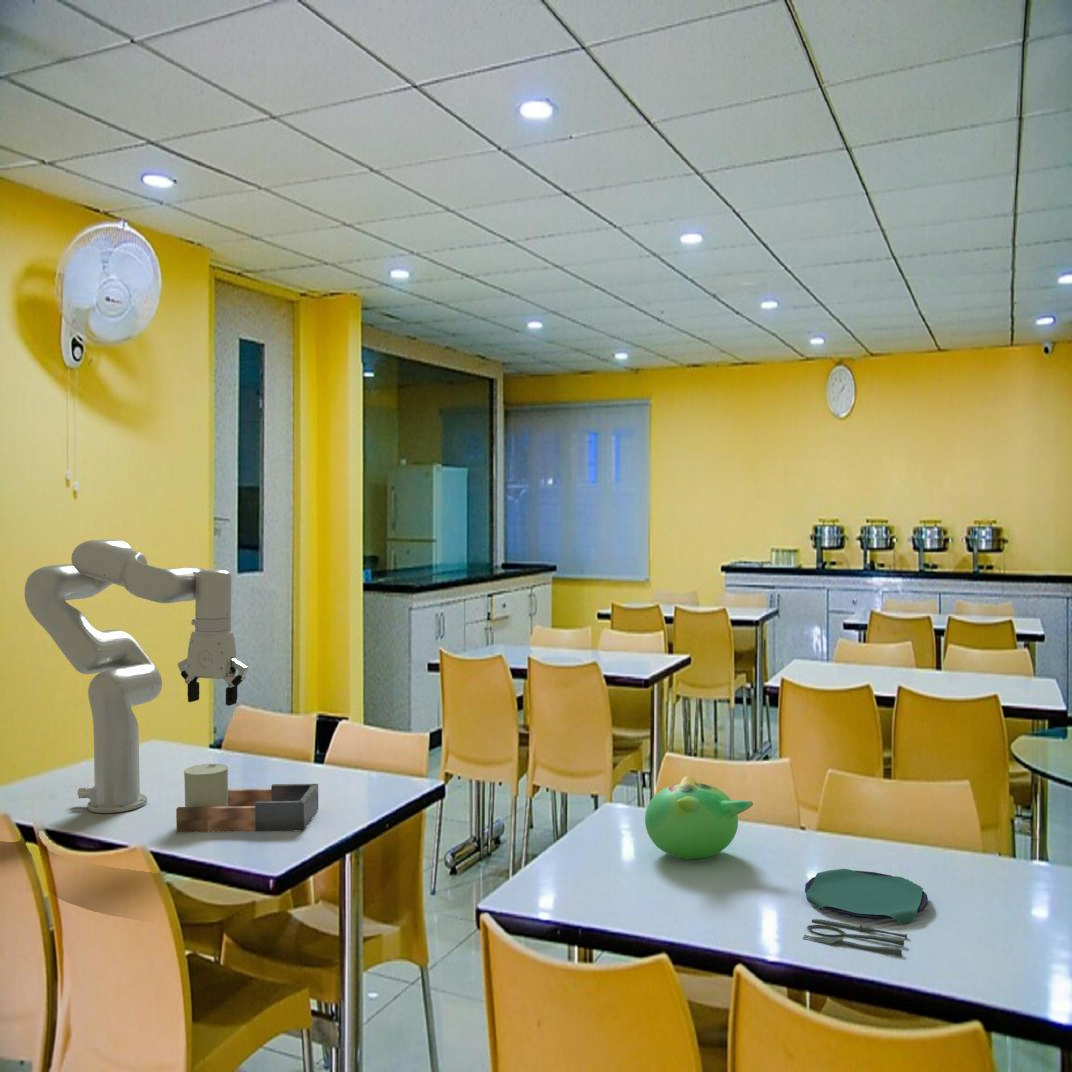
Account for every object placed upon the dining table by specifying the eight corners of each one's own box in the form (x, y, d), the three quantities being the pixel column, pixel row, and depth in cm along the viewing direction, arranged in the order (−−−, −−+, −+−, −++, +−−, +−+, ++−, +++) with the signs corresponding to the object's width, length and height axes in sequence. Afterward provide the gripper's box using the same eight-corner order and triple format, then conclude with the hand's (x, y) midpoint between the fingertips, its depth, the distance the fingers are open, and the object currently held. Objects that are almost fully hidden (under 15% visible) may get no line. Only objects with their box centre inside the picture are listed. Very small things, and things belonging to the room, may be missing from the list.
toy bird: (710, 837, 197) (710, 765, 196) (757, 864, 181) (757, 786, 181) (631, 848, 190) (630, 774, 190) (673, 878, 174) (673, 797, 174)
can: (236, 815, 213) (235, 761, 213) (218, 828, 204) (217, 772, 204) (196, 814, 214) (195, 761, 214) (176, 827, 205) (175, 771, 205)
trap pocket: (255, 831, 202) (255, 803, 202) (273, 810, 217) (272, 784, 217) (304, 830, 202) (303, 802, 202) (318, 810, 217) (318, 783, 217)
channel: (176, 832, 202) (176, 808, 202) (199, 811, 216) (199, 789, 216) (255, 831, 202) (255, 807, 202) (273, 810, 217) (272, 788, 217)
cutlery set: (934, 891, 168) (933, 878, 168) (915, 965, 141) (914, 950, 141) (817, 874, 177) (817, 861, 177) (779, 941, 150) (778, 926, 150)
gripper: (168, 625, 211) (168, 702, 212) (237, 629, 206) (236, 709, 207) (190, 621, 219) (189, 696, 219) (256, 626, 214) (255, 702, 214)
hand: (212, 702), depth 213 cm, fingers open, 9 cm apart
